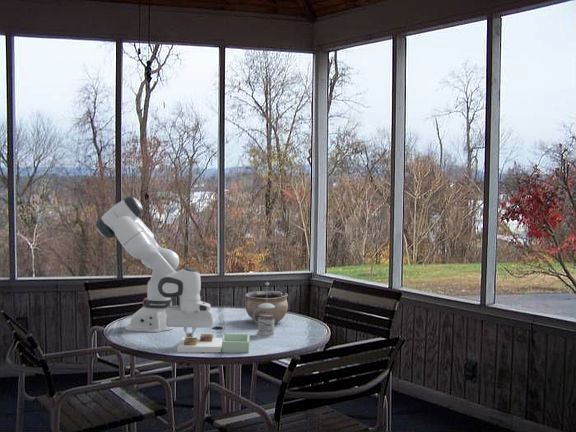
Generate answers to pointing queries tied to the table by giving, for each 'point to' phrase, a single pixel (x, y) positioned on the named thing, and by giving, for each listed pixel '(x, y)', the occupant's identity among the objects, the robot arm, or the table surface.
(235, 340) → the tray
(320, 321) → the table surface
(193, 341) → the teak tile
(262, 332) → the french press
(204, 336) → the walnut tile
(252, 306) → the ceramic bowl
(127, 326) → the robot arm
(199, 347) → the white square board
